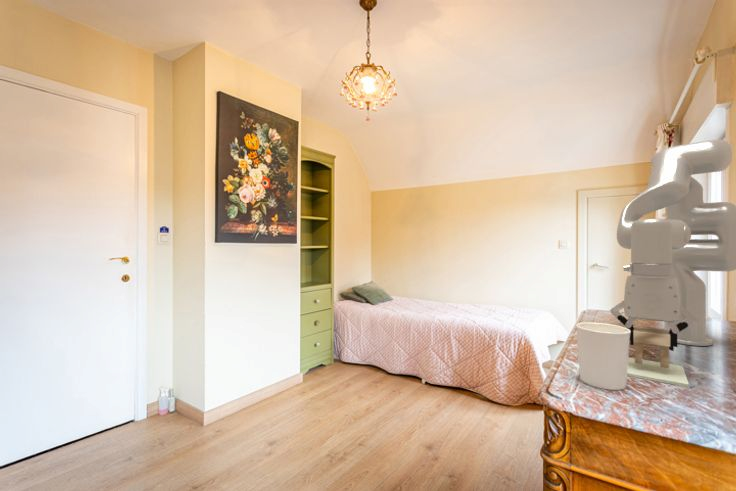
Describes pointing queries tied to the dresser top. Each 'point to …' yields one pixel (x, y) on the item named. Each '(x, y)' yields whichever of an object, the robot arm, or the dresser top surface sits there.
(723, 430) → the dresser top surface
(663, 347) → the footstool
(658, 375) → the felt mat
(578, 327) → the candle holder
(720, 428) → the dresser top surface
